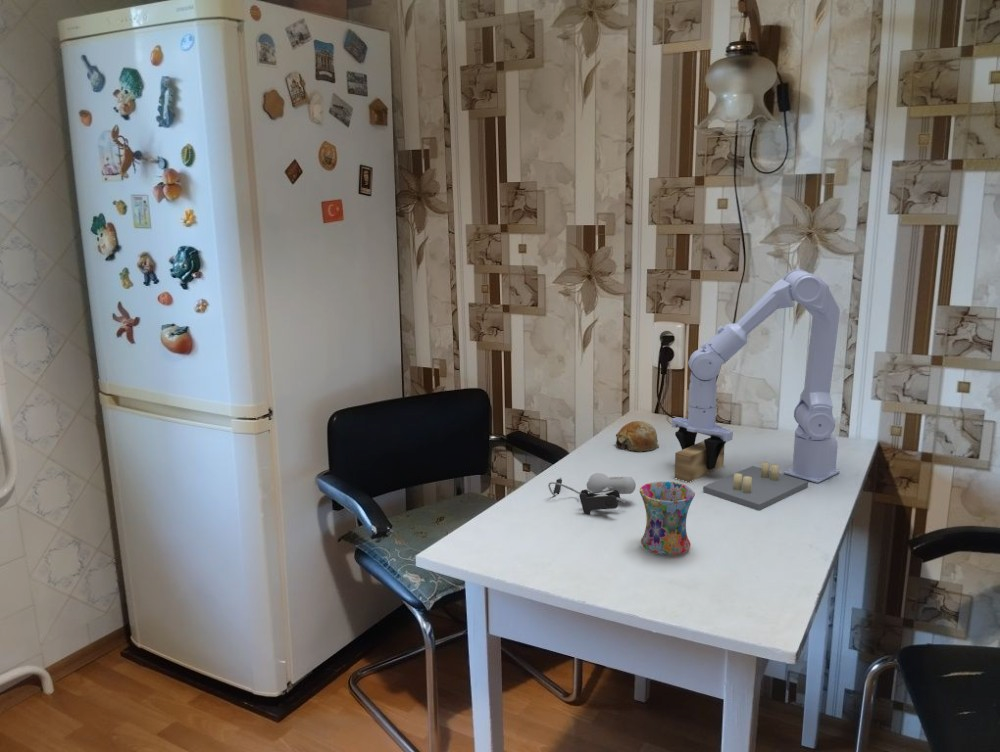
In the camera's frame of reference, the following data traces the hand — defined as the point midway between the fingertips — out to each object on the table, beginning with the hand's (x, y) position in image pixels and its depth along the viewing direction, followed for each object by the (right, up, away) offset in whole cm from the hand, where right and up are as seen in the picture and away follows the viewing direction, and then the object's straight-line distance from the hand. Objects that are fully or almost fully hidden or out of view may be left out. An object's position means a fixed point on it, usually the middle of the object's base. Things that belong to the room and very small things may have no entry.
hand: (699, 465), depth 175 cm
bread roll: (-11, +2, +19) cm, 22 cm away
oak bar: (0, -2, 0) cm, 2 cm away
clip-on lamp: (-26, -6, -14) cm, 30 cm away
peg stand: (+9, -4, -10) cm, 14 cm away
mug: (-14, -10, -34) cm, 39 cm away
